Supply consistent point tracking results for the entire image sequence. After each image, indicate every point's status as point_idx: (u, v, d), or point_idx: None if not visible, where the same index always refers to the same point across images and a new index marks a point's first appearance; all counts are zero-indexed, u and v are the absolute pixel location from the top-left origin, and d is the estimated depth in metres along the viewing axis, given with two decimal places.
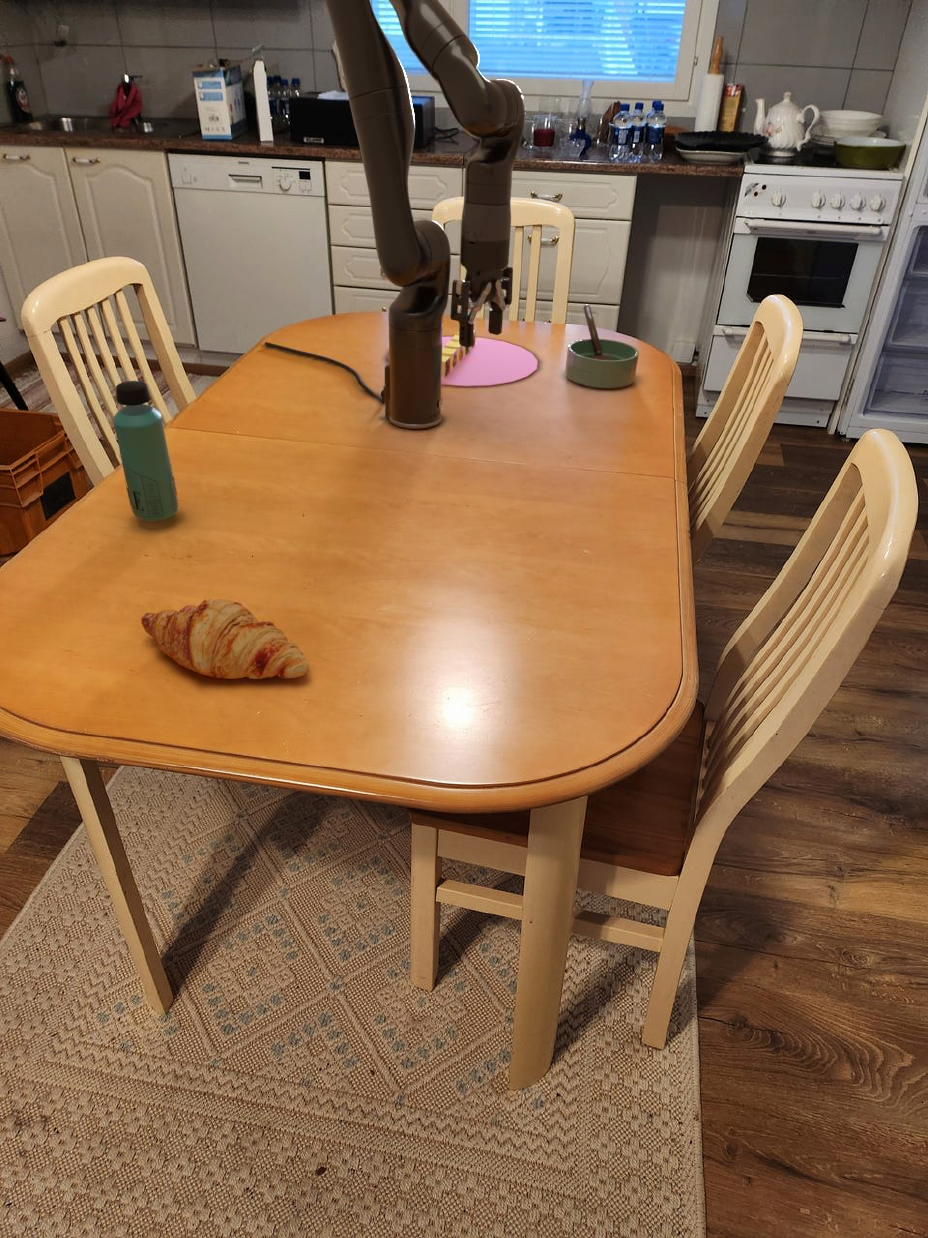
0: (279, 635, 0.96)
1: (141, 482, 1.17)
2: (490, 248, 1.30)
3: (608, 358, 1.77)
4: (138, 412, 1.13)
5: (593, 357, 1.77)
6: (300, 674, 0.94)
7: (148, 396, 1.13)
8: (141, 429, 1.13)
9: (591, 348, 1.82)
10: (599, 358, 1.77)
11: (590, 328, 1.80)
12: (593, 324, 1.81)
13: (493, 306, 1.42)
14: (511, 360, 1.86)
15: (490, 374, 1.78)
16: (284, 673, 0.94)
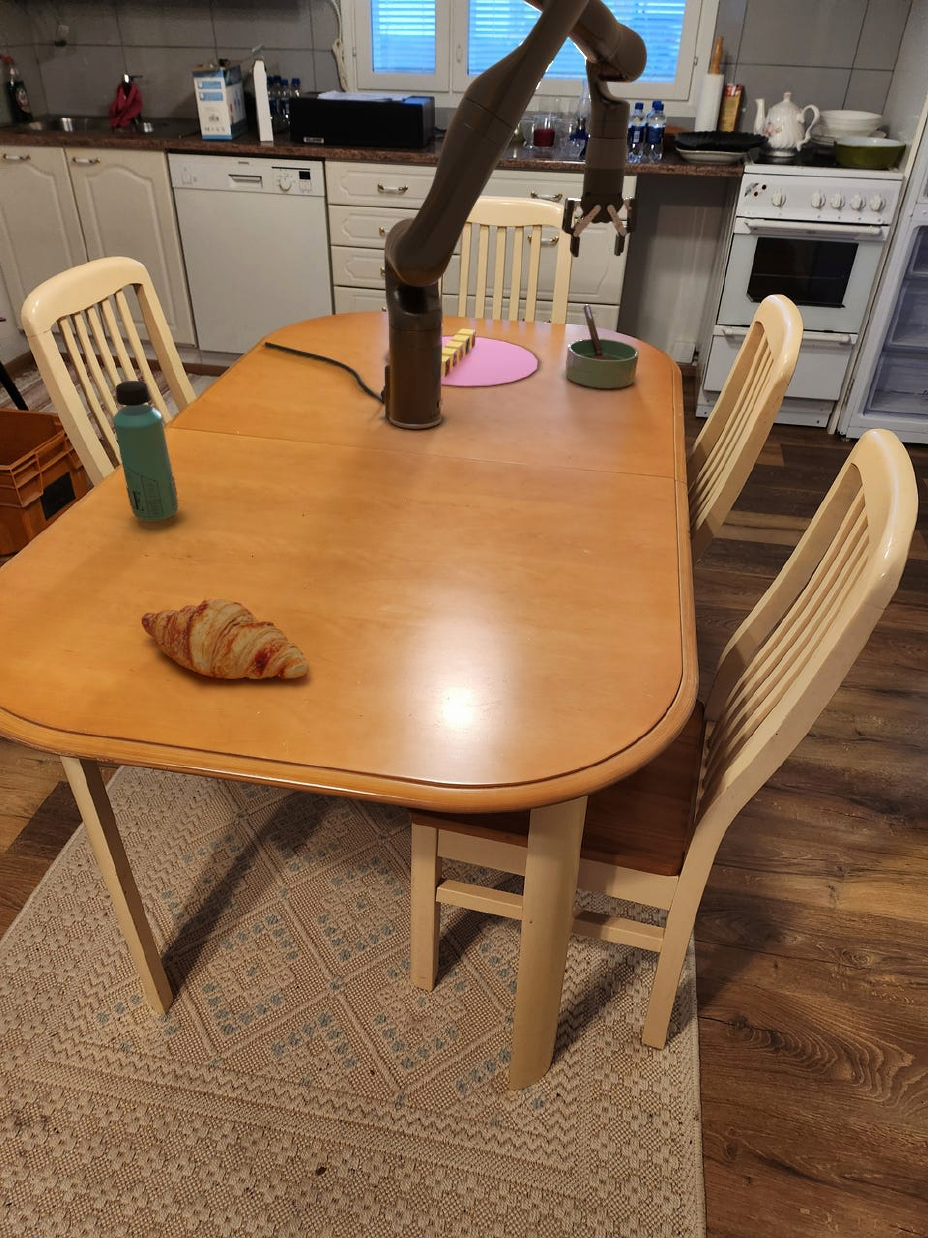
0: (279, 635, 0.96)
1: (141, 482, 1.17)
2: (594, 174, 1.59)
3: (608, 358, 1.77)
4: (138, 412, 1.13)
5: (593, 357, 1.77)
6: (300, 674, 0.94)
7: (148, 396, 1.13)
8: (141, 429, 1.13)
9: (591, 348, 1.82)
10: (599, 358, 1.77)
11: (590, 328, 1.80)
12: (593, 324, 1.81)
13: (618, 230, 1.69)
14: (511, 360, 1.86)
15: (490, 374, 1.78)
16: (284, 673, 0.94)
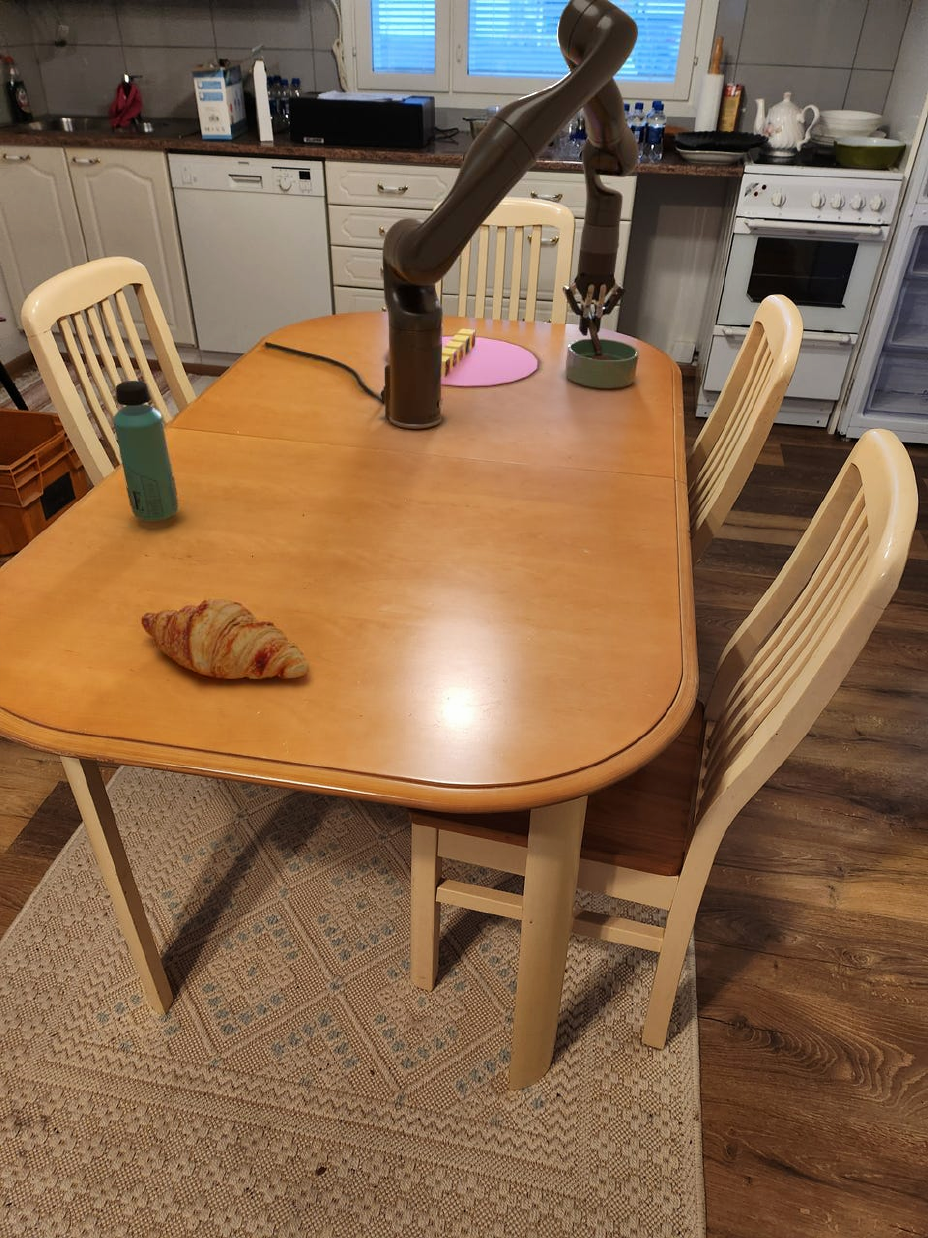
0: (279, 635, 0.96)
1: (141, 482, 1.17)
2: (589, 257, 1.72)
3: (608, 358, 1.77)
4: (138, 412, 1.13)
5: (593, 357, 1.77)
6: (300, 674, 0.94)
7: (148, 396, 1.13)
8: (141, 429, 1.13)
9: (591, 348, 1.82)
10: (599, 358, 1.77)
11: (590, 328, 1.80)
12: (593, 324, 1.81)
13: (595, 311, 1.81)
14: (511, 360, 1.86)
15: (490, 374, 1.78)
16: (284, 673, 0.94)
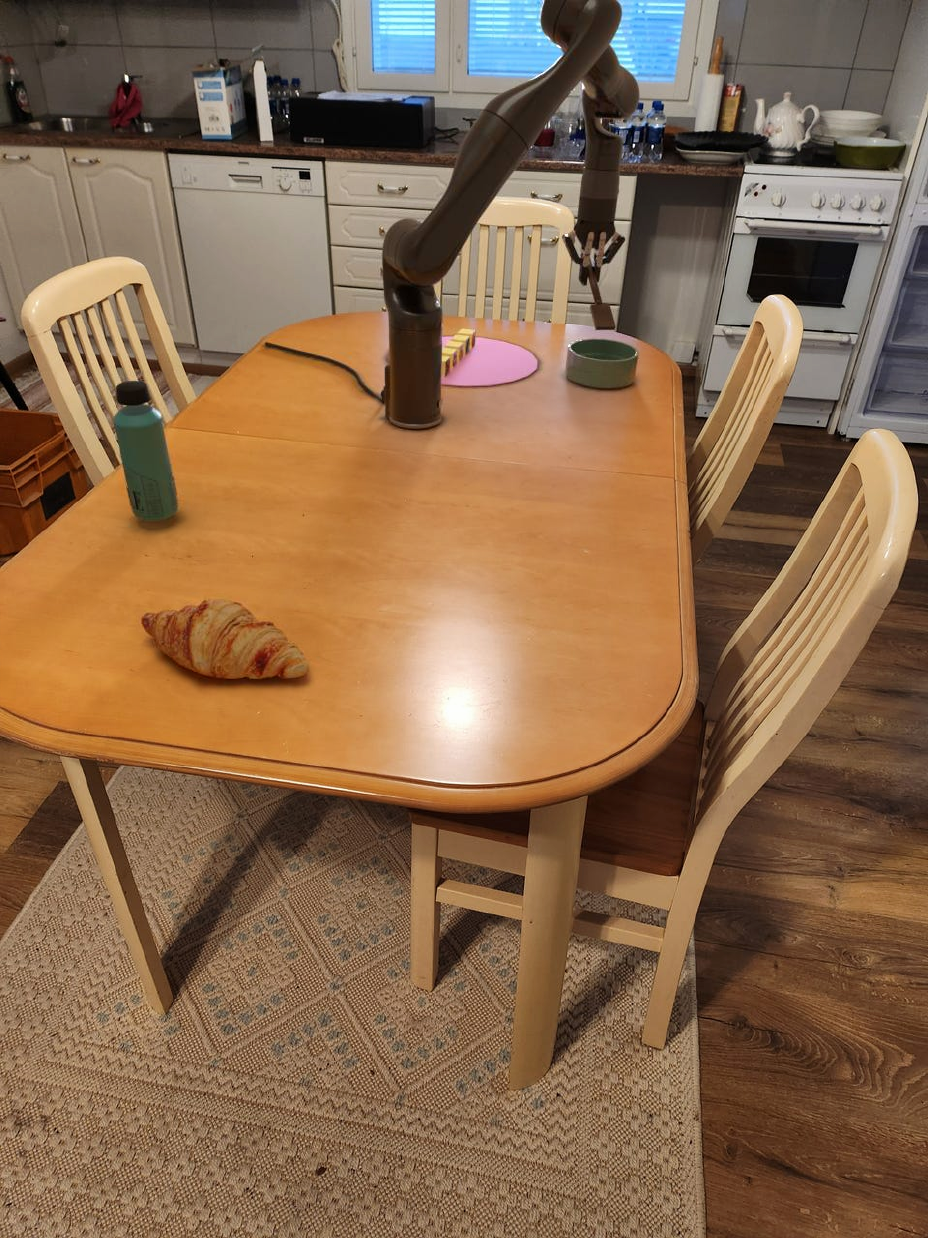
0: (279, 635, 0.96)
1: (141, 482, 1.17)
2: (589, 203, 1.70)
3: (608, 307, 1.75)
4: (138, 412, 1.13)
5: (593, 306, 1.75)
6: (300, 674, 0.94)
7: (148, 396, 1.13)
8: (141, 429, 1.13)
9: (591, 348, 1.82)
10: (599, 307, 1.75)
11: (590, 277, 1.78)
12: (593, 273, 1.79)
13: (594, 260, 1.79)
14: (511, 360, 1.86)
15: (490, 374, 1.78)
16: (284, 673, 0.94)
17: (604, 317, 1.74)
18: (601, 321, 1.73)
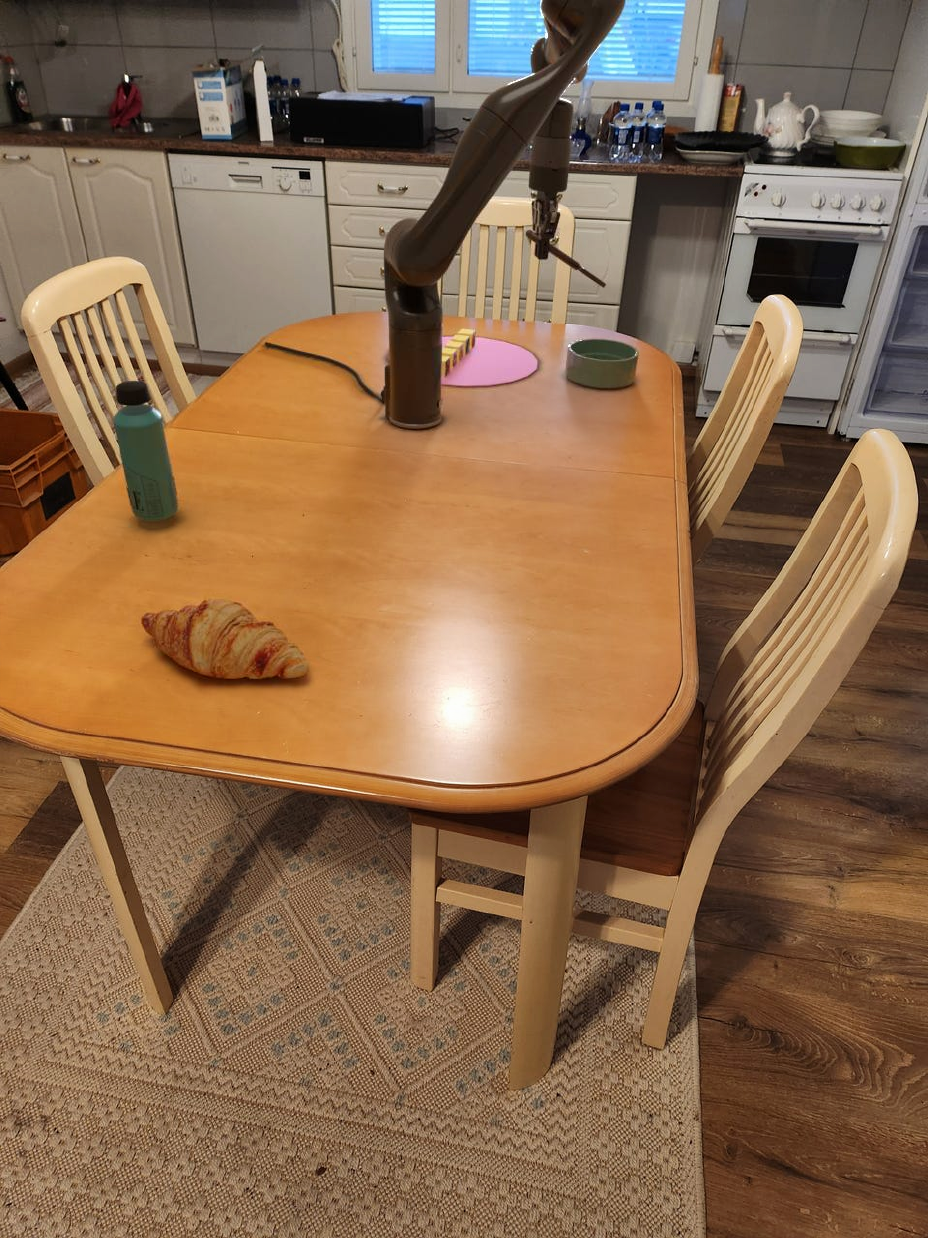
0: (279, 635, 0.96)
1: (141, 482, 1.17)
2: (566, 172, 1.66)
3: (582, 267, 1.80)
4: (138, 412, 1.13)
5: (585, 269, 1.78)
6: (300, 674, 0.94)
7: (148, 396, 1.13)
8: (141, 429, 1.13)
9: (591, 348, 1.82)
10: (584, 269, 1.79)
11: (554, 248, 1.75)
12: None
13: None
14: (511, 360, 1.86)
15: (490, 374, 1.78)
16: (284, 673, 0.94)
17: (594, 275, 1.81)
18: (599, 279, 1.80)
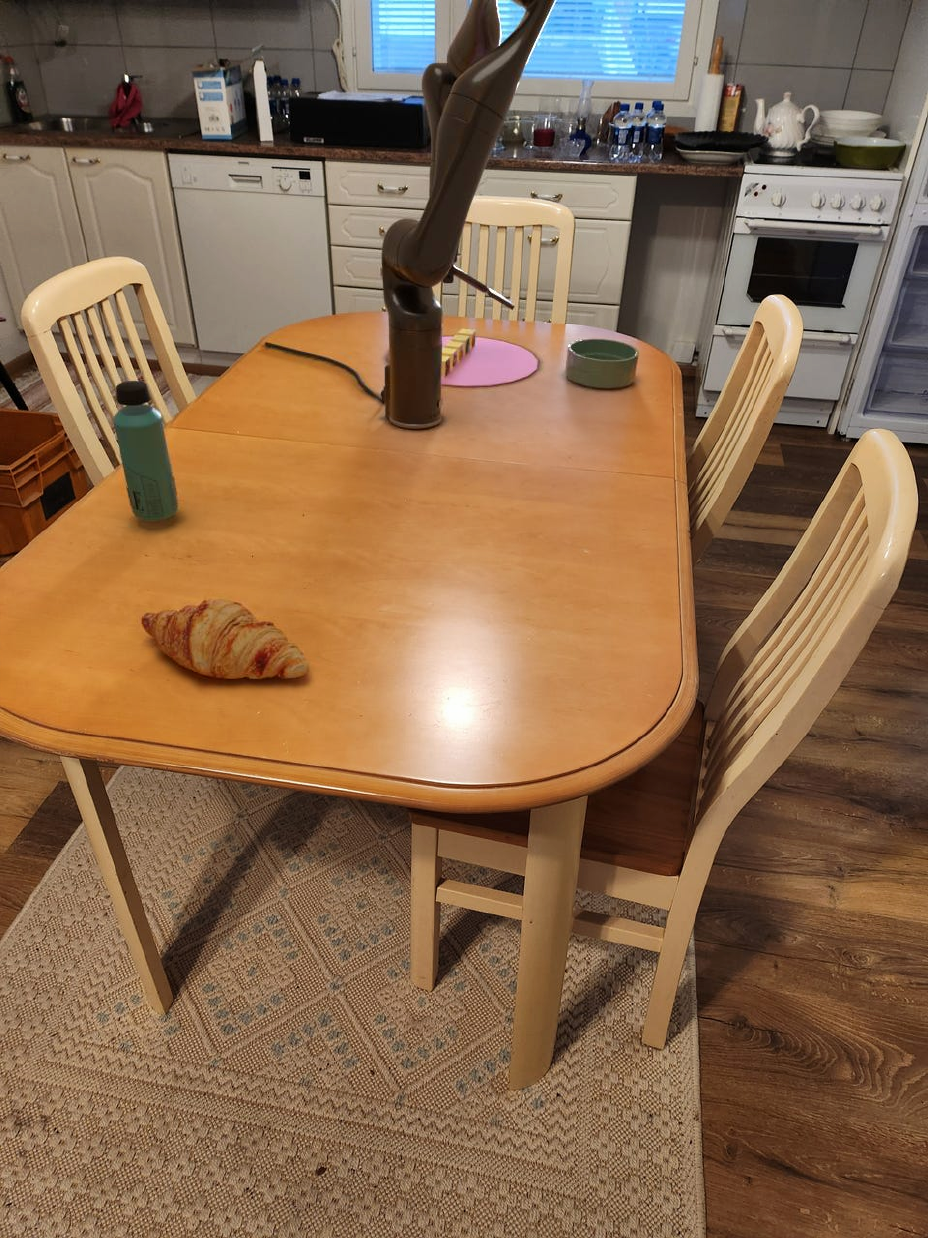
0: (279, 635, 0.96)
1: (141, 482, 1.17)
2: None
3: (490, 289, 1.79)
4: (138, 412, 1.13)
5: (492, 292, 1.77)
6: (300, 674, 0.94)
7: (148, 396, 1.13)
8: (141, 429, 1.13)
9: (591, 348, 1.82)
10: (492, 291, 1.78)
11: (459, 271, 1.74)
12: None
13: None
14: (511, 360, 1.86)
15: (490, 374, 1.78)
16: (284, 673, 0.94)
17: (503, 297, 1.79)
18: (508, 301, 1.79)
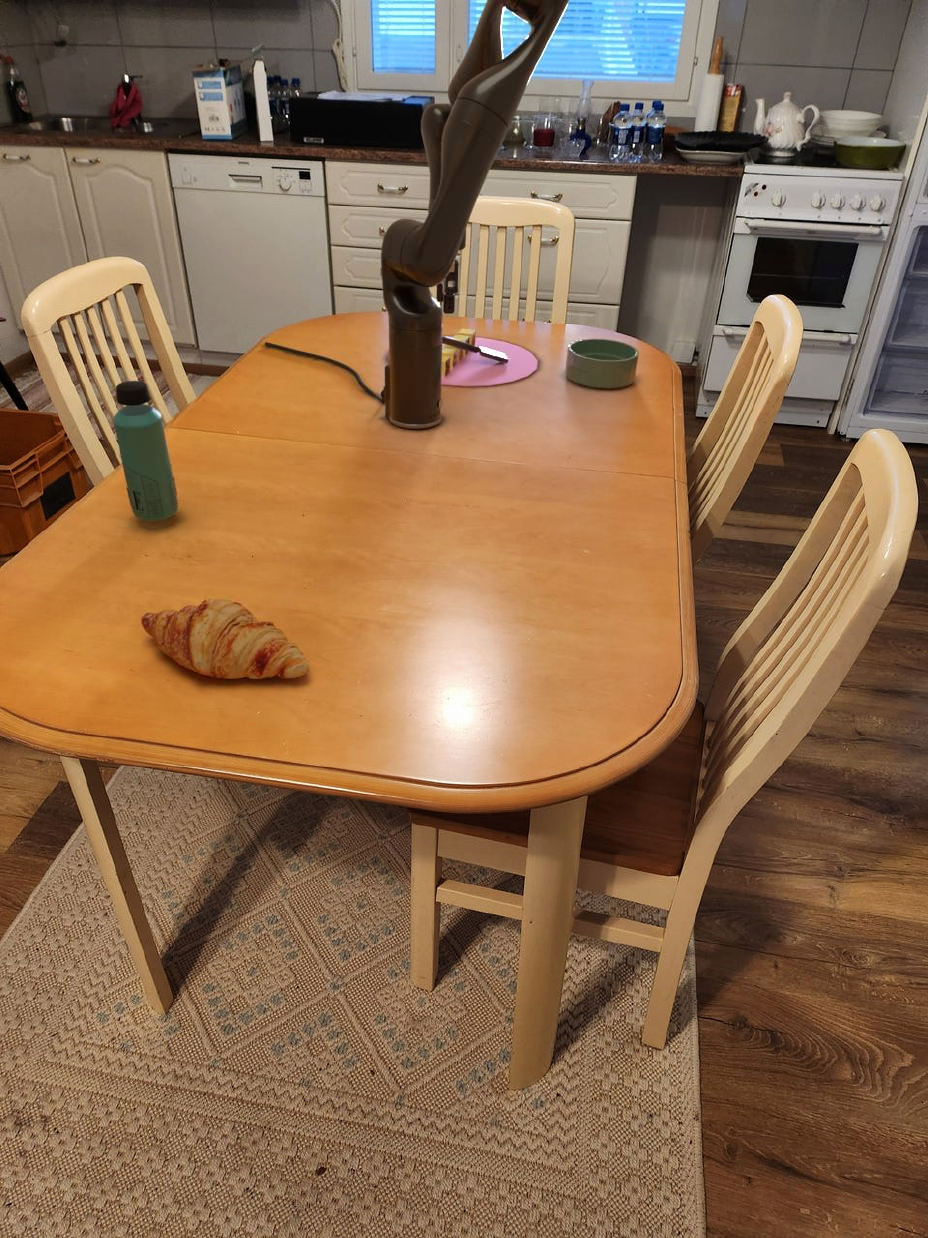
0: (279, 635, 0.96)
1: (141, 482, 1.17)
2: None
3: None
4: (138, 412, 1.13)
5: None
6: (300, 674, 0.94)
7: (148, 396, 1.13)
8: (141, 429, 1.13)
9: (591, 348, 1.82)
10: None
11: None
12: None
13: None
14: (511, 360, 1.86)
15: (490, 374, 1.78)
16: (284, 673, 0.94)
17: None
18: None
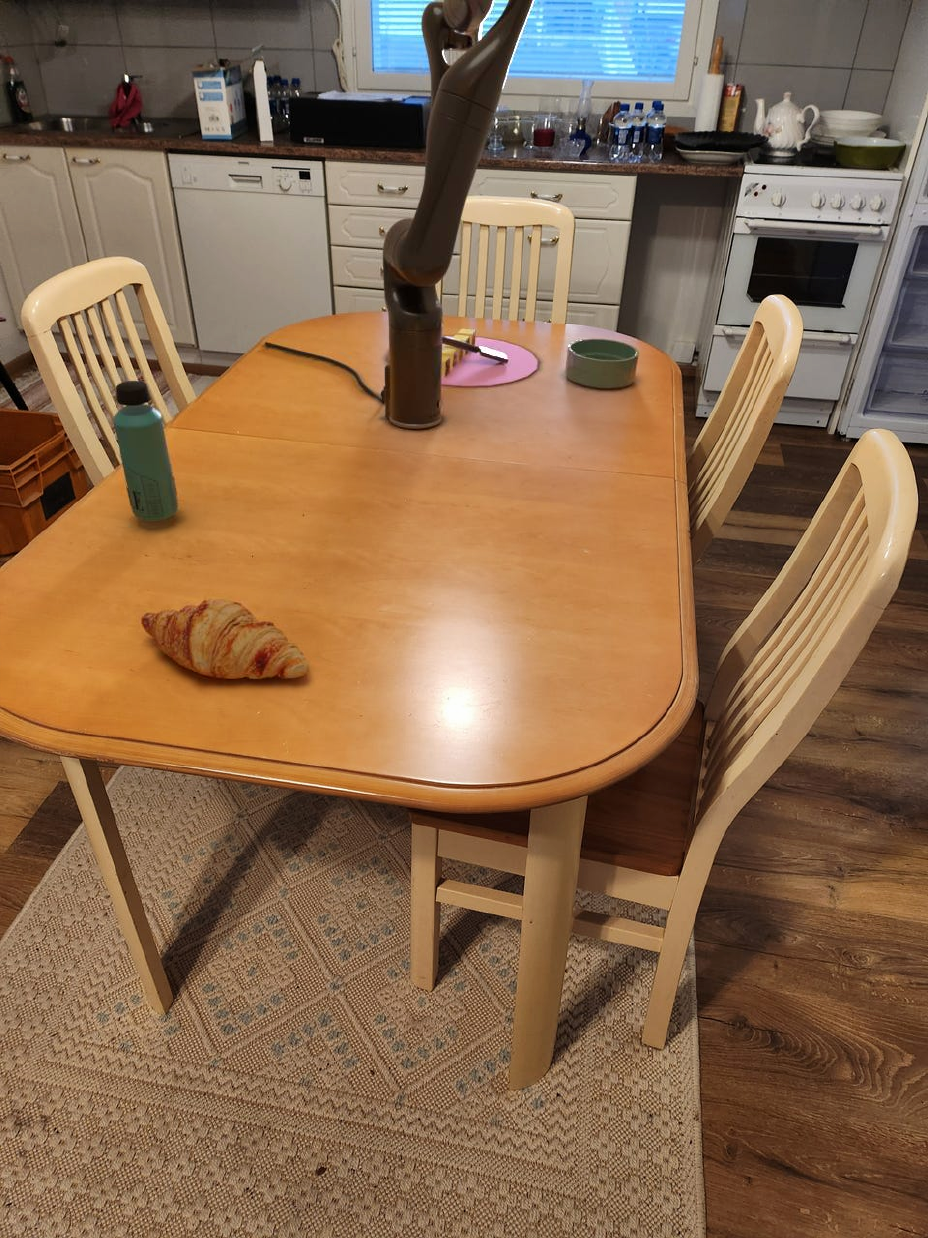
0: (279, 635, 0.96)
1: (141, 482, 1.17)
2: None
3: None
4: (138, 412, 1.13)
5: None
6: (300, 674, 0.94)
7: (148, 396, 1.13)
8: (141, 429, 1.13)
9: (591, 348, 1.82)
10: None
11: None
12: None
13: None
14: (511, 360, 1.86)
15: (490, 374, 1.78)
16: (284, 673, 0.94)
17: None
18: None
